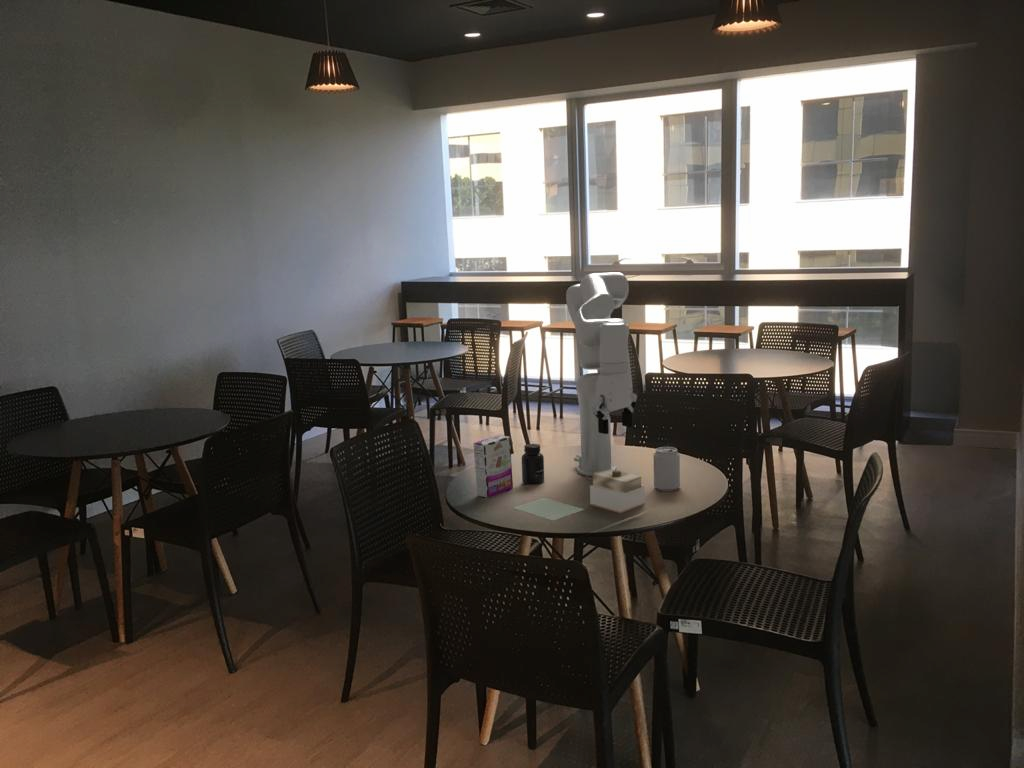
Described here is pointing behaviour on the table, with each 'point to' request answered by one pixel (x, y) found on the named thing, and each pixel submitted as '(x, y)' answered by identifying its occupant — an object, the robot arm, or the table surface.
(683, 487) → the table surface
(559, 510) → the mat
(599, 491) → the gray block
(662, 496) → the table surface
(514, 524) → the table surface
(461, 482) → the table surface
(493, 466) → the candy bar box
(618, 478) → the lid
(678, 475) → the can
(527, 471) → the supplement bottle
